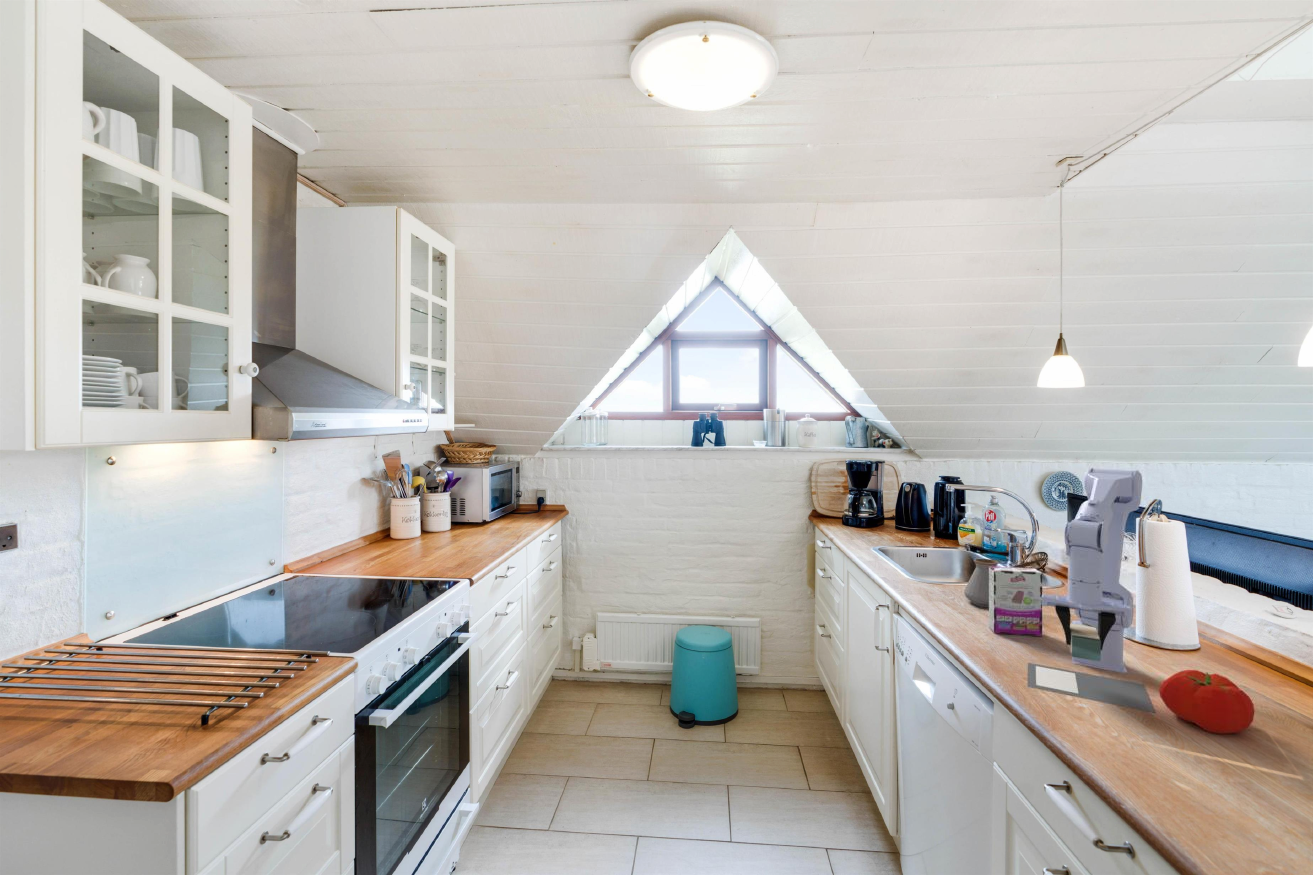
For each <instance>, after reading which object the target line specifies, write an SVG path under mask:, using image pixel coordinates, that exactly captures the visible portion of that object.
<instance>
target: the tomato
mask: <svg viewBox="0 0 1313 875" xmlns="http://www.w3.org/2000/svg"><path fill="white" fill-rule="evenodd" d="M1158 691H1159V696H1160V697H1159V698H1160V699H1161V701H1162V703H1163V704H1164V705H1165V706H1166V708H1167V709H1169V710H1170V712H1172V714H1175V715H1176V716H1177V717H1179V718H1180V719H1182V720H1184V721H1186V722H1187V723H1191V724H1196V725H1197V726H1199V727H1200V728H1201V729H1202V730H1204V731H1207V732H1209V733H1214V734H1220V735H1222V734H1229V733H1231V734H1232V733H1233V734H1235V733H1240V732H1242V731H1244V730H1246V729H1247V728H1249V727H1250V726H1251V724H1252V723H1253V721H1254V717H1255V712H1256V711H1255V705H1254V702H1253V701H1252V699H1251V697H1250V696H1249V695H1248V694H1247V693H1246V692H1245V691H1244V690H1242V689H1241V688H1240V687H1239V686H1237V684H1235V683H1234V682H1233V681H1231V680H1230V679H1229V678H1227V677H1226V676H1223V675H1220V674H1218V673H1211V674H1209V673H1208V671H1207V672H1203V671H1200V670H1195V669H1185V670H1181V671H1179V672H1176V673H1174V674H1172V675H1171V676H1169V677H1168V678H1166V679H1165V680H1163V681H1162V683H1161V685H1160V688H1159V690H1158Z"/></svg>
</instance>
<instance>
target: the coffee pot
mask: <svg viewBox="0 0 1313 875" xmlns="http://www.w3.org/2000/svg"><path fill="white" fill-rule="evenodd" d="M973 562H974V563H975V568H974V571H973V572H972V574H971V576H970V579H969V580H968V581H967V583H966V586H965V587H964V590H963V594H964V596H965V597H966V598H967V600H968V601H970V603H971V604H973V605H975V606H978V607H982V608H989V567H998V565H999V561H997V560H994V559H989V558H975V559H973ZM1040 562H1041V563H1042V562H1044V563H1045V564H1046V566H1048V565H1049V563H1048V562H1047V559H1046V558H1045V557H1043V558H1039V559H1035V560H1030V561H1029V560H1028V561H1025V562H1022V563H1019V564H1015V565H1013V566H1010V567H1011V568H1027V567H1030V566H1032V565H1035V564H1039V563H1040Z"/></svg>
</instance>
